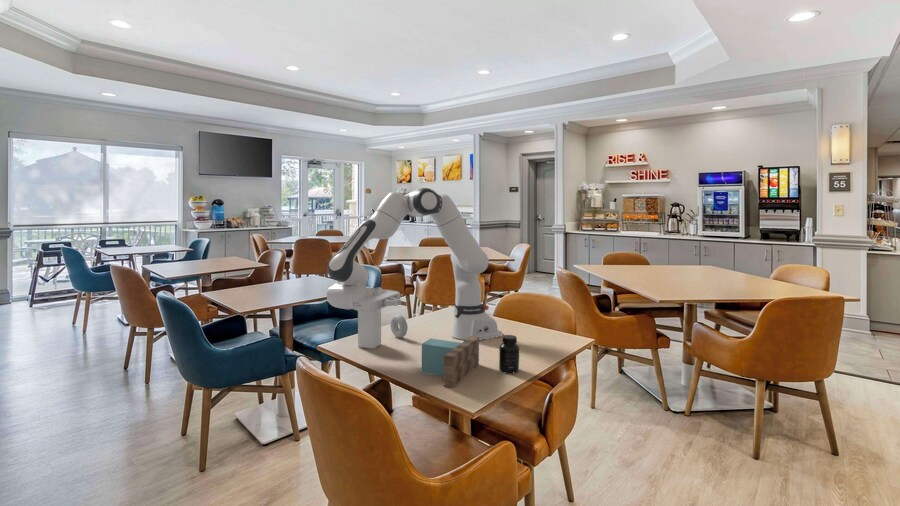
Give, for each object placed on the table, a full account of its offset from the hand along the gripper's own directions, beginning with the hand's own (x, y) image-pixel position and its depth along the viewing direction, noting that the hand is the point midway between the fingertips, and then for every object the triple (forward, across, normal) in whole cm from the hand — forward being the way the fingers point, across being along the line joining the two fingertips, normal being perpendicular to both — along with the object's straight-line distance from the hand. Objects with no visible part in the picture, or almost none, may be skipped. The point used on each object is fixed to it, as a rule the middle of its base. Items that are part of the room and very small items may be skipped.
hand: (399, 302), depth 166 cm
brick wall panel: (+25, -2, +22) cm, 34 cm away
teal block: (+18, -2, +22) cm, 28 cm away
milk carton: (-20, +12, +22) cm, 32 cm away
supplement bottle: (+38, +8, +22) cm, 45 cm away
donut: (-15, +27, +22) cm, 38 cm away
